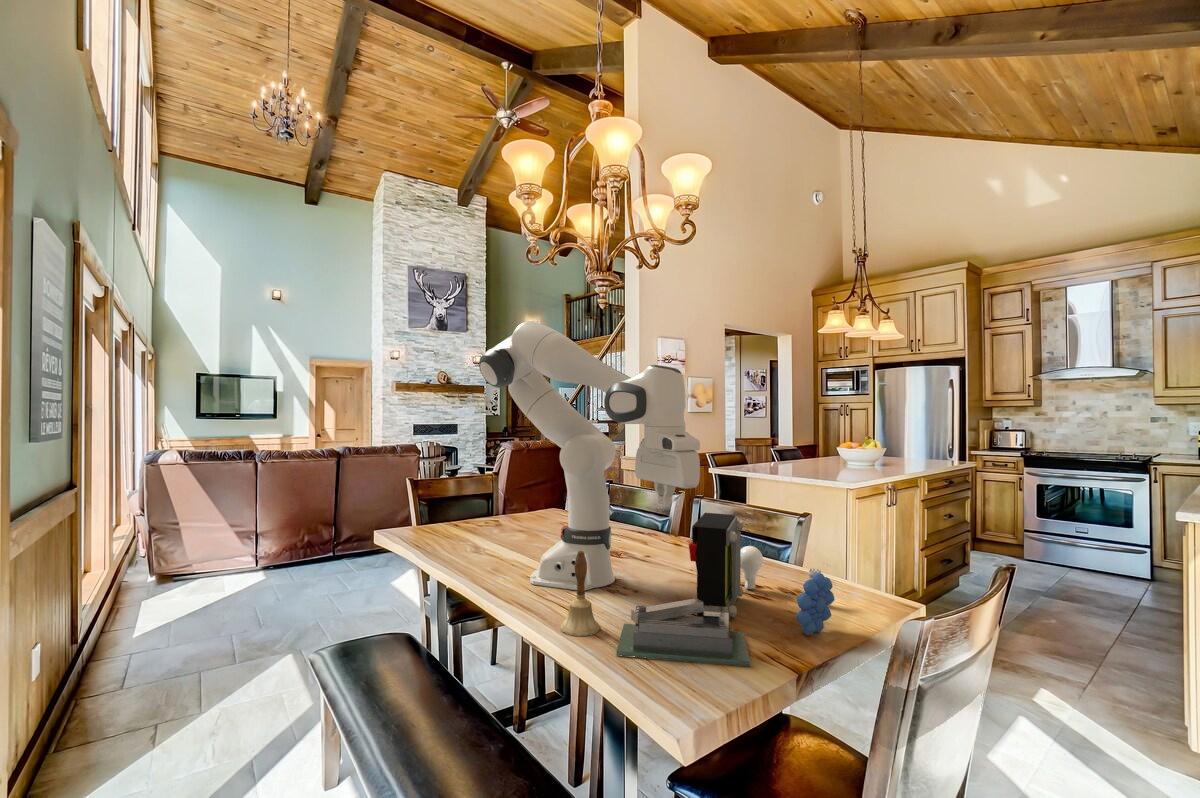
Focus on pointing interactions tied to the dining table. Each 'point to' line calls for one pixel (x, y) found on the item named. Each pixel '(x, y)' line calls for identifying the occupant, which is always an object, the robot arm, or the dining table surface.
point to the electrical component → (717, 560)
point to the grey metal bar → (666, 610)
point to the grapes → (815, 603)
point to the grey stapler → (686, 639)
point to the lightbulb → (750, 565)
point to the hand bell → (580, 605)
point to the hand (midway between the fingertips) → (664, 504)
